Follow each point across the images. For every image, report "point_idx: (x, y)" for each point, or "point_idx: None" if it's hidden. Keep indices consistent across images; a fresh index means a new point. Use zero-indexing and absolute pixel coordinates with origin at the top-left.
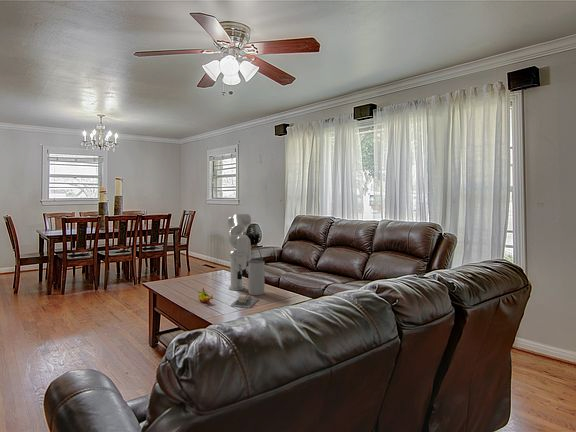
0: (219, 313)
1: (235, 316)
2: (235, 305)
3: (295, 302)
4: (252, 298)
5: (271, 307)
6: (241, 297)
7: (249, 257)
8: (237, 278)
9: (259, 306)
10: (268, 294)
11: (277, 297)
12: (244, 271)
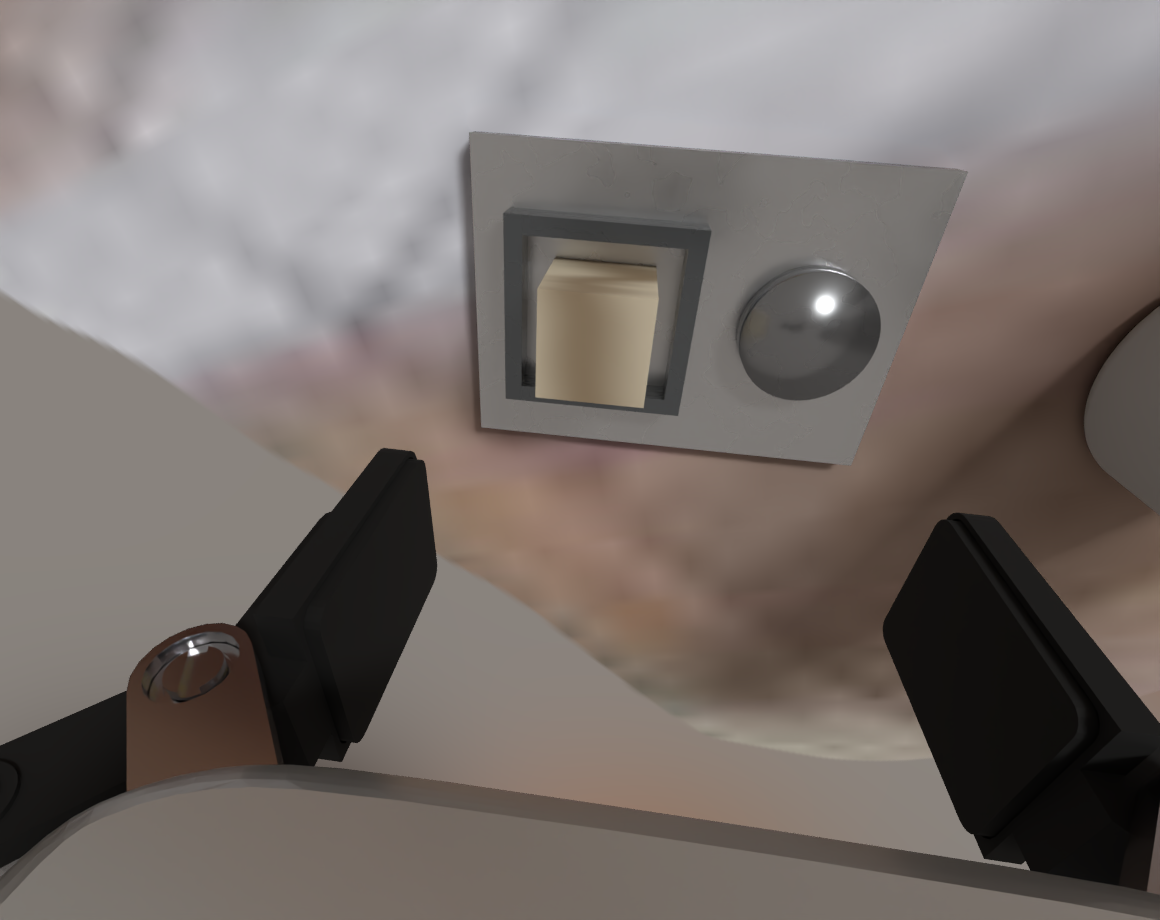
0: (101, 64)
1: (141, 333)
2: (474, 224)
3: (732, 740)
4: (845, 394)
5: (552, 603)
6: (538, 335)
7: None
8: (382, 458)
9: (560, 505)
10: (1096, 534)
11: None
12: (988, 761)
